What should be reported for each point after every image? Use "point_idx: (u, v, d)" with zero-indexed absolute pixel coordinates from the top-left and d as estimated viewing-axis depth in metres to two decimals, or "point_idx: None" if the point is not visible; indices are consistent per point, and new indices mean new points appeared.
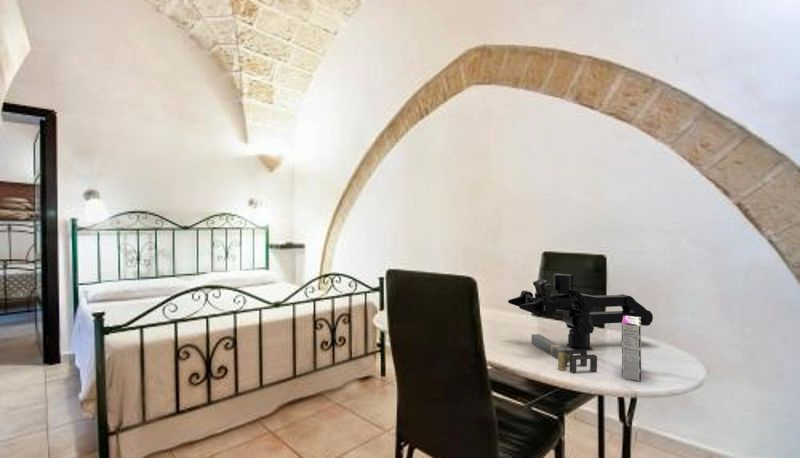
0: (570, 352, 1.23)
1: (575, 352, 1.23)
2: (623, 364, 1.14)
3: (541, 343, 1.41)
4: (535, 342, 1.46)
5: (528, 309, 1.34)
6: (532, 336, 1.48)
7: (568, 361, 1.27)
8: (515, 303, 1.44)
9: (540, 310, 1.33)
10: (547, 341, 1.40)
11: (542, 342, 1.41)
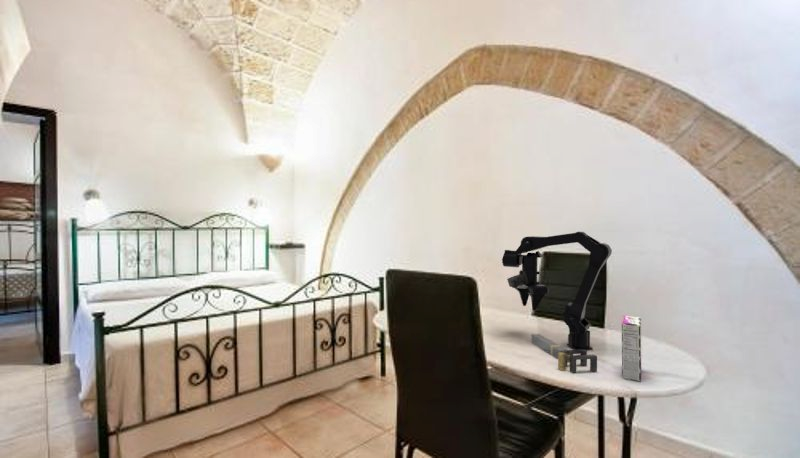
0: (570, 352, 1.23)
1: (575, 352, 1.23)
2: (623, 364, 1.14)
3: (541, 343, 1.41)
4: (535, 342, 1.46)
5: (537, 303, 1.49)
6: (532, 336, 1.48)
7: (568, 361, 1.27)
8: (526, 299, 1.58)
9: (539, 294, 1.48)
10: (547, 341, 1.40)
11: (542, 342, 1.41)
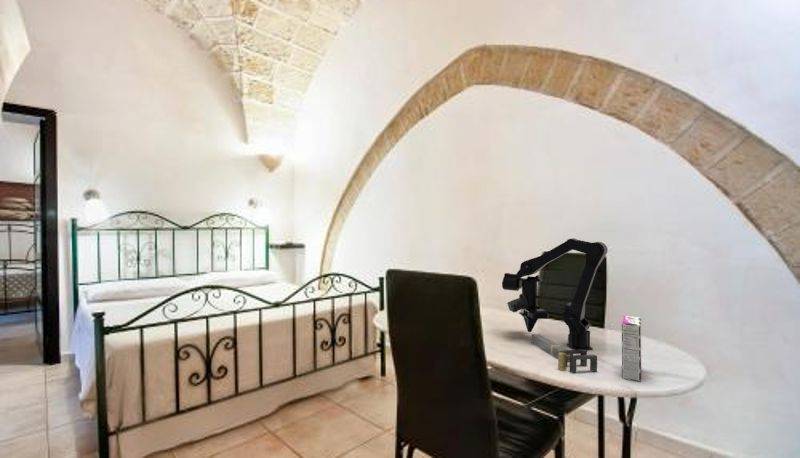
0: (570, 352, 1.23)
1: (575, 352, 1.23)
2: (623, 364, 1.14)
3: (541, 343, 1.41)
4: (535, 342, 1.46)
5: (532, 325, 1.53)
6: (532, 336, 1.48)
7: (568, 361, 1.27)
8: None
9: None
10: (547, 341, 1.40)
11: (542, 342, 1.41)
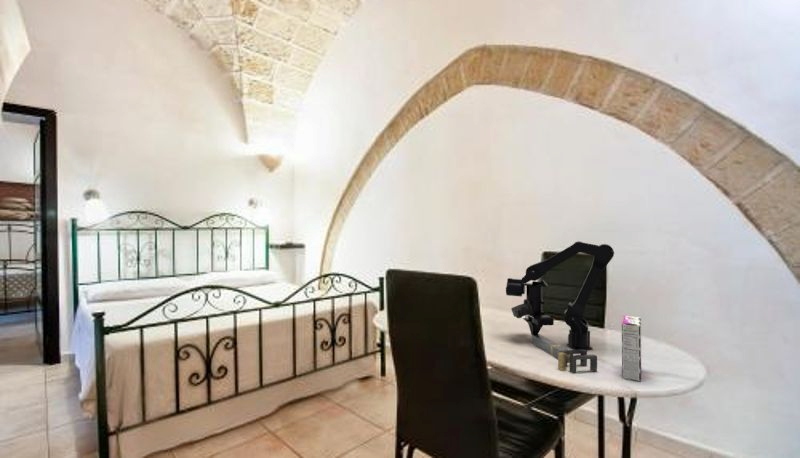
0: (570, 352, 1.23)
1: (575, 352, 1.23)
2: (623, 364, 1.14)
3: (541, 343, 1.41)
4: (535, 342, 1.46)
5: (537, 331, 1.49)
6: (532, 336, 1.48)
7: (568, 361, 1.27)
8: None
9: None
10: (547, 341, 1.40)
11: (542, 342, 1.40)
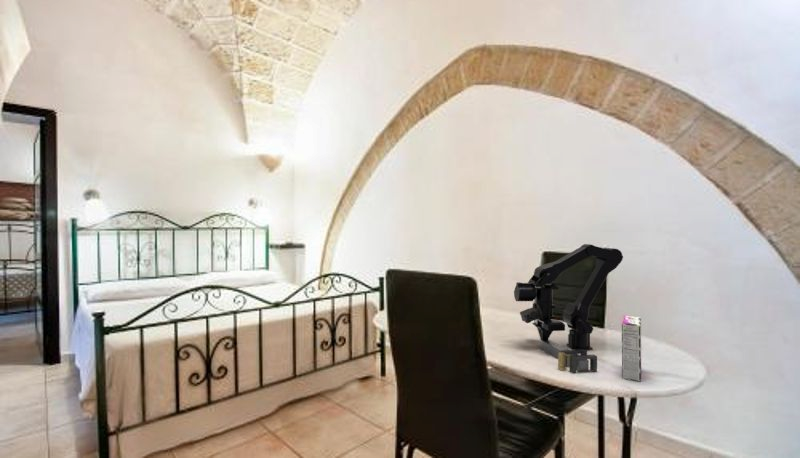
0: (570, 352, 1.23)
1: (575, 352, 1.23)
2: (623, 364, 1.14)
3: (552, 349, 1.34)
4: (545, 349, 1.38)
5: (547, 337, 1.42)
6: (542, 342, 1.40)
7: (583, 369, 1.20)
8: None
9: None
10: (559, 347, 1.32)
11: (554, 348, 1.33)
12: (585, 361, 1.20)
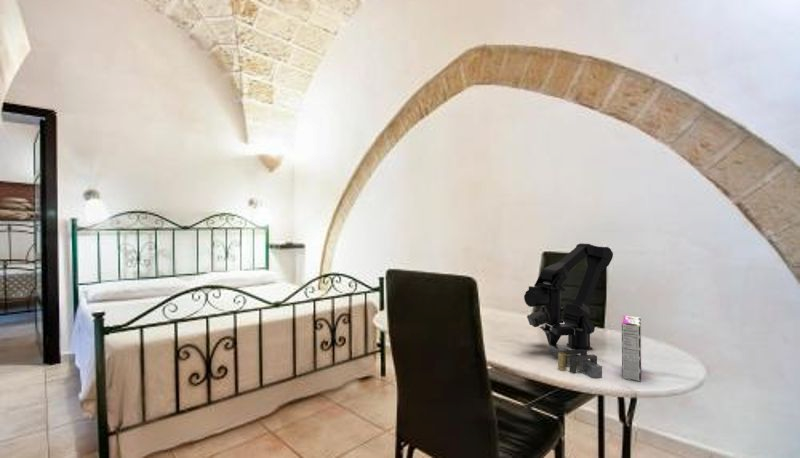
0: (570, 352, 1.23)
1: (575, 352, 1.23)
2: (623, 364, 1.14)
3: None
4: (554, 354, 1.33)
5: (555, 341, 1.36)
6: (550, 347, 1.35)
7: (597, 376, 1.14)
8: None
9: None
10: None
11: None
12: (599, 367, 1.14)
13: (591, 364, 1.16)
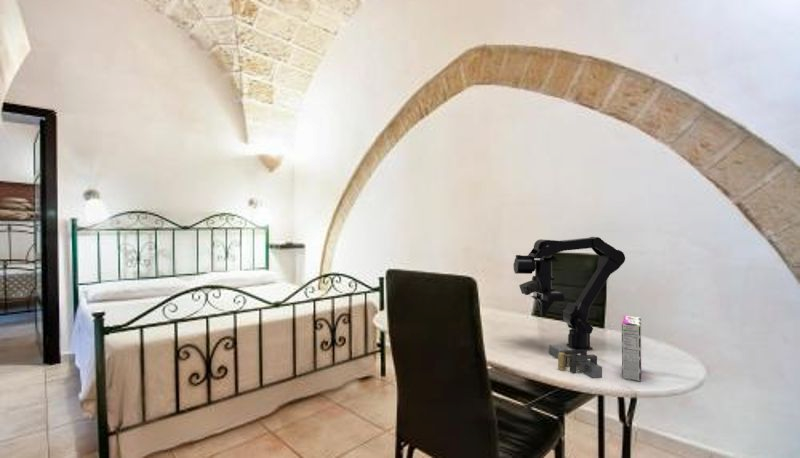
0: (570, 352, 1.23)
1: (575, 352, 1.23)
2: (623, 364, 1.14)
3: None
4: (554, 354, 1.33)
5: (546, 309, 1.42)
6: (550, 347, 1.35)
7: (597, 376, 1.14)
8: None
9: None
10: None
11: None
12: (599, 368, 1.14)
13: (591, 364, 1.16)
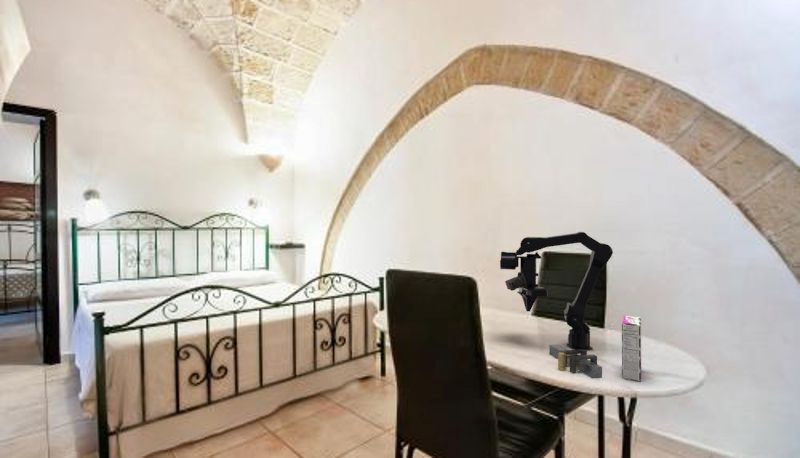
0: (570, 352, 1.23)
1: (575, 352, 1.23)
2: (623, 364, 1.14)
3: None
4: (554, 354, 1.33)
5: (531, 304, 1.47)
6: (550, 347, 1.35)
7: (597, 376, 1.14)
8: None
9: None
10: None
11: None
12: (599, 368, 1.14)
13: (591, 364, 1.16)
